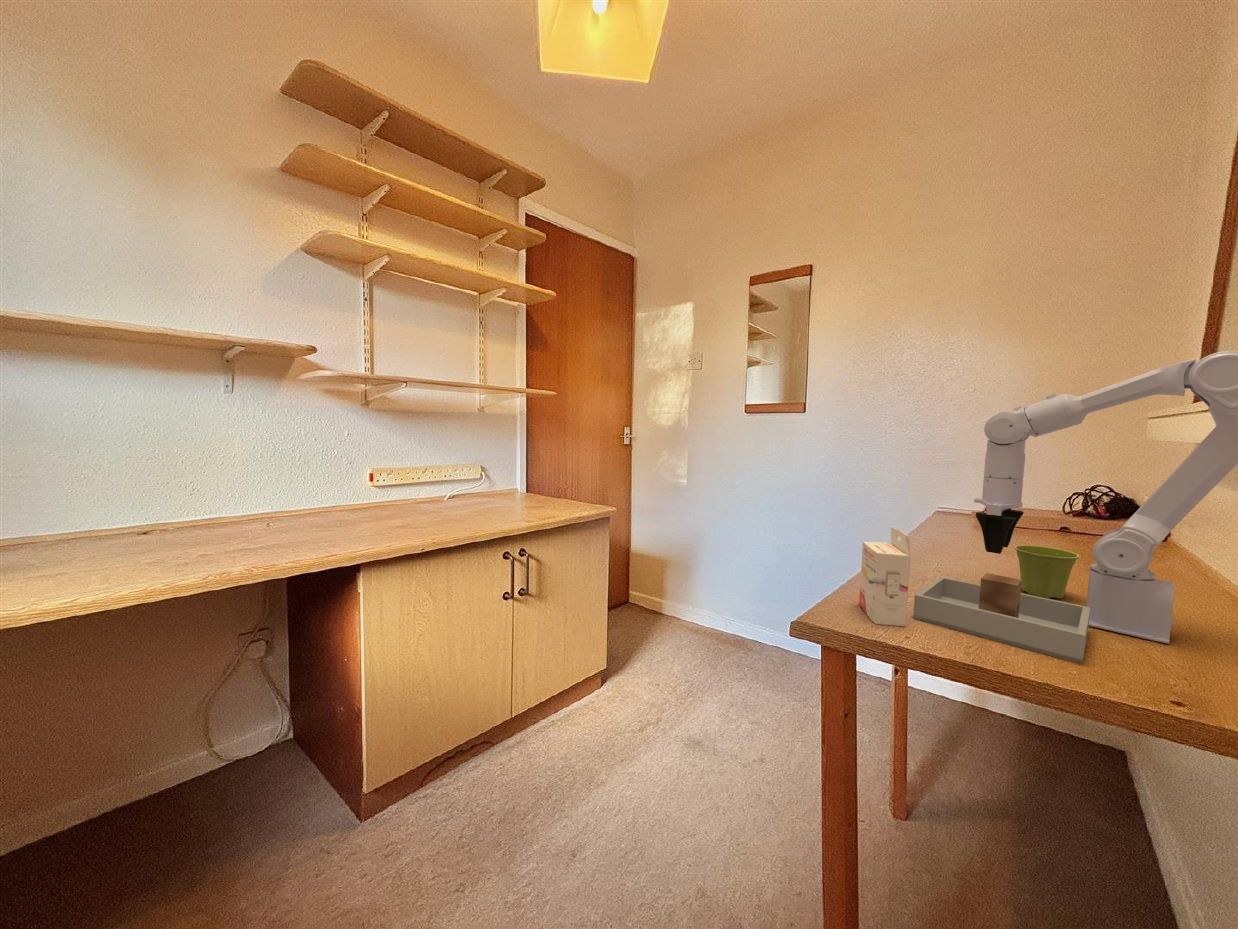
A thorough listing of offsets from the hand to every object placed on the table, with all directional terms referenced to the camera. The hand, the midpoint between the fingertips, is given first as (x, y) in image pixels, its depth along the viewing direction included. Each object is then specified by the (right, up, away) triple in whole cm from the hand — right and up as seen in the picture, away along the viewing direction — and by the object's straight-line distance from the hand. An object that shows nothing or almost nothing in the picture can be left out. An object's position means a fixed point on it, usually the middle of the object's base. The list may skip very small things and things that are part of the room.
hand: (997, 549), depth 88 cm
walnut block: (-10, -9, -12) cm, 18 cm away
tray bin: (-10, -10, -12) cm, 19 cm away
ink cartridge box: (-28, -10, -10) cm, 31 cm away
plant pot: (+12, -10, +4) cm, 16 cm away
